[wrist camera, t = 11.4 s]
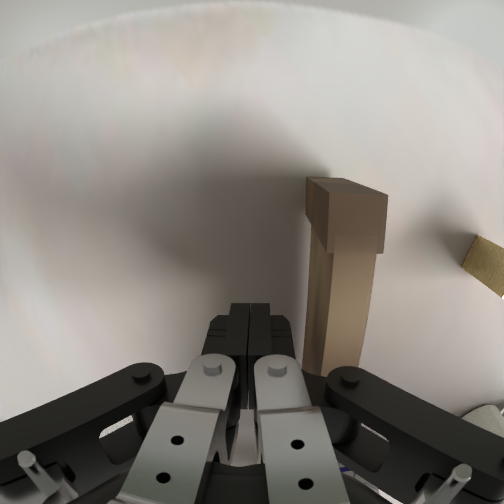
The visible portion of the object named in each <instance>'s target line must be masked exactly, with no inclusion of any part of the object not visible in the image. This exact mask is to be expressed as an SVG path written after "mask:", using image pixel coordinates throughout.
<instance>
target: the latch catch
mask: <svg viewBox="0 0 504 504" xmlns="http://www.w3.org/2000/svg"><path fill="white" fill-rule="evenodd" d="M461 268H463V269H464V270H465V271H467V272H468V273H469V274H471V275H472V276H474V277H475V278H476V279H478V280H479V281H480V282H482V283H483V284H484V285H486V286H487V287H488V288H490V289H491V290H492V291H494V292H495V293H496V294H497V295H499V296H500V297H501V298H503V299H504V248H502V247H500V246H498V245H496V244H494V243H492V242H491V241H489V240H487V239H485V238H483V237H481V236H479V235H477V237H476V239H475V241H474V243H473V245H472V247H471V249H470V251H469V253H468V255H467V257H466V259H465V260H464V262H463V264H462V266H461Z"/></svg>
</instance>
